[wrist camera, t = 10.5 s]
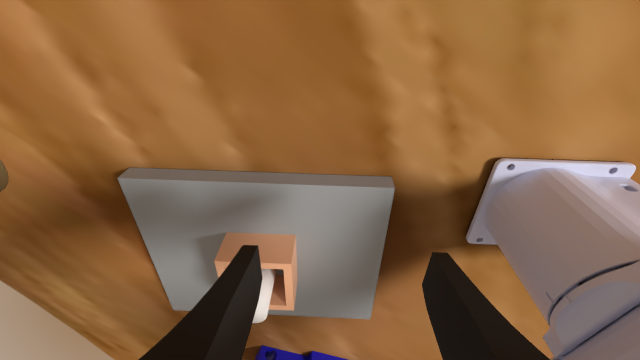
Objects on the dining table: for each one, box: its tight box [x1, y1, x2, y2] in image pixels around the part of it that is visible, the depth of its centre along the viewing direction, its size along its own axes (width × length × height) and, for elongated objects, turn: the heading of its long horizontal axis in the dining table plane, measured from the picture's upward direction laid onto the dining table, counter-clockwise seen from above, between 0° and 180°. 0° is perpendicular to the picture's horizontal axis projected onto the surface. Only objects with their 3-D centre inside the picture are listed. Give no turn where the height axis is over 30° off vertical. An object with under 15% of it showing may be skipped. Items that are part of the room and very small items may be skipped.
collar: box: [214, 232, 298, 311], centre depth 24 cm, size 6×6×3 cm
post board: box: [117, 168, 395, 323], centre depth 24 cm, size 20×16×6 cm
